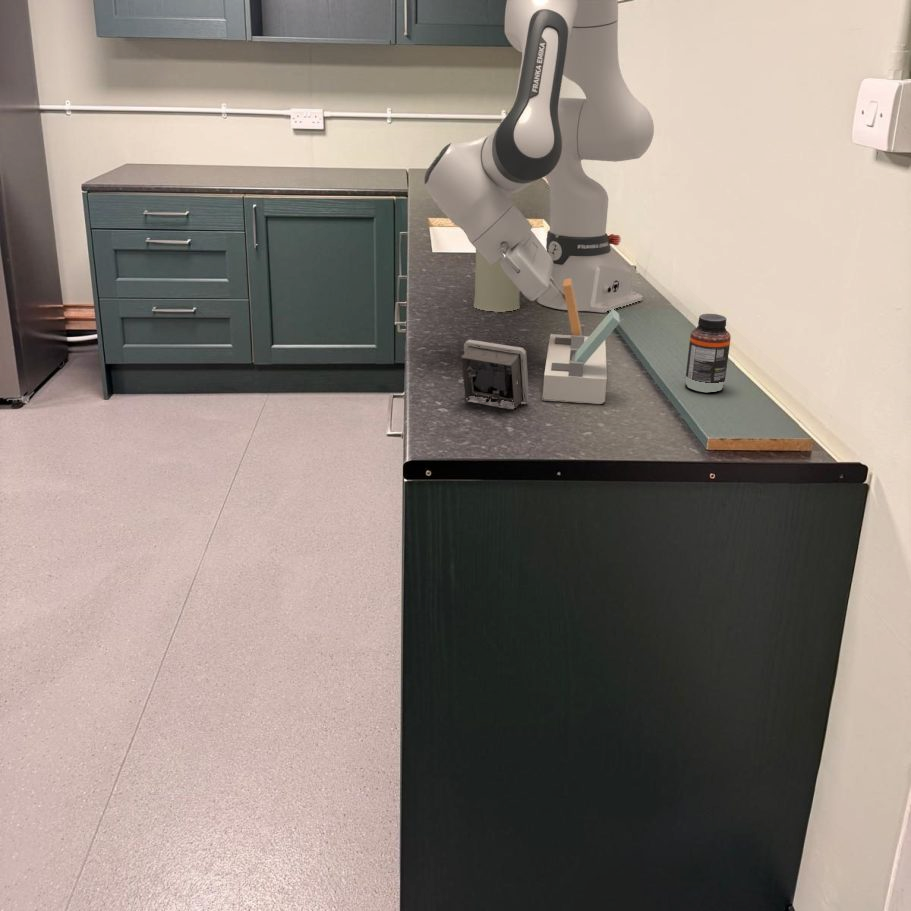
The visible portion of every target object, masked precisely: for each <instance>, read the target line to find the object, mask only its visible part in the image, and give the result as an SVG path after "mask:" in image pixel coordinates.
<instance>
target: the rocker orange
mask: <svg viewBox="0 0 911 911" xmlns="http://www.w3.org/2000/svg"><path fill="white" fill-rule="evenodd" d="M563 290H564V295H565V300H566V305H567V310H566V311H567V314H568V319H569V324H570V329H571V335H579V336H582V330H581V326H580V325H581V322H580V321H581V320H580V316H579V311H578V310H577V305H576V300H575V295H574V290H573V285H572V280H571V278H569V279H564V282H563Z"/></svg>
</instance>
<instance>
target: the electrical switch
mask: <svg viewBox="0 0 911 911" xmlns="http://www.w3.org/2000/svg"><path fill="white" fill-rule="evenodd" d="M463 350H464V354H462V355H461V357H460V358H461V359H460V360H461V371H462V378H463V390H464V396H465V397H464V398H465V400H466V398H468V397H469V396H475V397H483V398H488V400H490V399H492V397H494V398H497V400H496V401H499V400H504V401H509V402H514V407H516V406H517V405H518V406H520V405H521V404H520V403H521V402H526V404H527V403H528V402H529V400H530V393H529V378H528V362H527V361H528V360H527V359H528V358H527V350H525V348H523V347H519V346H512V345H507V344H500V343H494V342H487V341H481V340H473V339H468V340H466V341H465V343H464V344H463ZM476 394H477V395H476ZM488 396H489V397H488ZM468 399H469V398H468ZM492 400H493V399H492ZM512 400H513V401H512ZM499 402H500V401H499ZM518 406H517V407H518ZM517 407H516V408H517Z"/></svg>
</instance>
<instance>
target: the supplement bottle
mask: <svg viewBox="0 0 911 911" xmlns="http://www.w3.org/2000/svg"><path fill="white" fill-rule="evenodd" d="M697 323H698V325H697V327H695V328H694V329H692V331H691V332H690V335H689V336H690V337H689V346H688V353H687V354H688V355H687V362H686V369H685V370H686V372H685V377H686V376H687V377H688V378H690V379H692V380H695V381H699V382H705V383H719V382H724V381H725V382H726V375H727V368H728V361H729V353H730V352H729V351H730V346H731V340H732V339H731V334H730V332H729V331H728V330H727V328H726V327H727V317H726V316H724V315H721V314H716V313H703V314H700V315H699V316H698V321H697Z"/></svg>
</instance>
